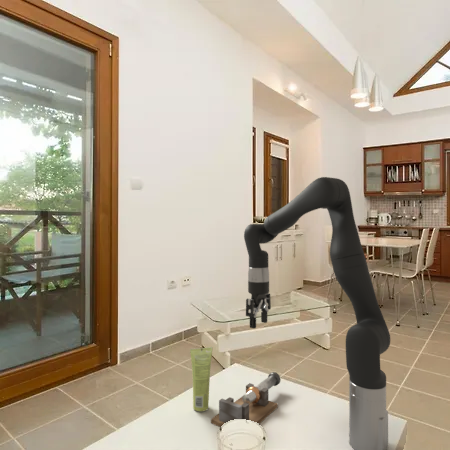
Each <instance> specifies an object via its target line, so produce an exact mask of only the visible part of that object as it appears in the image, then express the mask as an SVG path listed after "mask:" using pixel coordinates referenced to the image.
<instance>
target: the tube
mask: <svg viewBox="0 0 450 450" xmlns="http://www.w3.org/2000/svg"><path fill="white" fill-rule="evenodd" d="M213 348H214V347H212V346H211V347H203V348H202V347H200V348H199V347H198V348H190V349H189V354H190V361H191V371H192V372H191V374H192V400H193V401H192V408H193V410H194V411H196V412H206V411H207V410H209V401H210V395H209V394H210V380H211V379H210V378H211V376H210V375H211V366H212V365H211V364H212V356H213Z"/></svg>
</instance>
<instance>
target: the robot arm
mask: <svg viewBox="0 0 450 450" xmlns="http://www.w3.org/2000/svg"><path fill="white" fill-rule="evenodd" d="M319 209H323V210H324V209H325V210H327V213H328V215H329V219H330V222H331V228H332V231H331V232H332V233H331V239H330V247H329V256H330V261H331V266H332V269H333V273H334V276H335V279H336V281H337V282H338V284H339V286H340V288H341V289H342V290H343V292H344V293H345V295H346V296H347V297H348V300H349V301H350V302H351V305H352V307H353V308H352V309H353V311H354V315H355V319H356V324H353V325H352V326H351V327H349V329H348V330H347V332H346V335H345V360H346V361H345V363H346V369H347V373H348V374H349V384H348V385H349V388H348V389H349V391H348V392H349V395H348V396H349V397H348V399H349V403H348V404H349V409H348V410H349V418H348V419H349V423H348V424H349V426H348V427H349V431H348V432H349V433H348V437H349V441H348V442H349V445H350V446H351V448H352V449H353V450H388V446H389V411H388V410H387V374H386V373H385V372H384V371H383V370H381V355H382V354H384V353H385V352H387V350H388V349H389V347H391V346H390V345H391V334H390V331H389V328H388V326H387V322H386V320H385V317H384V316H383V313H382V311H381V308H380V305H379V302H378V299H377V296H376V292H375V289H374V285H373V282H372V278H371V275H370V274H371V273H370V270H369V266H368V262H367V259H366V255H365V252H364V250H363V249H364V248H363V247H362V243H361V239H360V235H359V231H358V227H357V224H356V222H355V215H354V210H353V205H352V199H351V194H350V189H349V187H348V184H347V183H346V182H345V181H344V180H342V179H340V178H338V177H327V176H321V177H318V178H316V179H314V180H313V181H312V182H311V183H310V184H309V185H308V186H307V187H306V188H304V189H303V190H302V191H301V192H300V193H299V194H298V195H296V196H295V197H294V198H293V199H292V200H290V202H288V203H287V204H285V205H284V206H283V207H281V208H279V209H277V210H276V211H274V212H273V213H271V214H269V215H268V216H267V217H266V218H265V219H264V221H263V223H250V224H249V225H246V227H245V229H244V231H243V233H244V234H243V238H244V243H245V247H246V250H247V254H248V272H247V289H248V290H247V291H248V293H249V294H250V295H251V297H250V298H246V300H245V316H246V317H248V318H249V328H251V329H256V328H257V315H258V313H259V312H260V311H261V312H260V313H261V314H260V315H261V316H260V318H261V319H260V320H261V321H260V322H261V323H263V324H264V323H265V324H266V323H268V313H269V310H271V308H272V307H271V306H272V303H271V293H270V270H269V253H268V252H267V251H266V250H264V249H263V250H262V247H261V244H267V243H270V242H272V241H273V240H274V239H275V238H276V237H278V235H279V234H281V233H283V232H285V231H287V230H288V229H290V228H292V227H293V226H294V225H295V224H296V223H297V222H298V221H299V220H300V218H302V217H303V216H304V215H306V214H308V213H310V212H313V211H316V210H319Z"/></svg>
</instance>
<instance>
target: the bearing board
mask: <svg viewBox="0 0 450 450" xmlns="http://www.w3.org/2000/svg"><path fill="white" fill-rule="evenodd" d="M251 386H255V384H253V383H250V382H249V383H248V384H246V385H245V391H246V390H247V389H248V388H250V387H251ZM242 397H243V395H242V396H241V397H239V398H237V400H235V399H234V398H233V397H230V396H229V397H228V398H226V399H224V398H221V399H219V400H218V414H216V415H214V416H213V417H212V418H211V419H210V423H211V424H212V425H214V426H217V427H220V428H222V427H221V426H222V425H223V424H224V423H226V422H228V421H230V420H234V419H246V420H251V421H254V422H257V423H259V425H260V424H261V423H262V422H263V421H264V420H265V419H266V418H267V417H269V416H270V415H271V414H272V413H273V412H274V411H275V410H276V409H277V408H278V403H277V402H274V401H271V400H269V390H268V389H267V388H263V389H262V390H261V399H260V400H259V401H258V402H257V403H251V404H250V405H249V404H247V403H244V402H243V400H242Z"/></svg>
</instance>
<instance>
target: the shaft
mask: <svg viewBox="0 0 450 450" xmlns="http://www.w3.org/2000/svg"><path fill="white" fill-rule="evenodd" d="M281 380H282V378H281V376H280V375H279V373H277V372H275V371H272V372H270V373H269V374H268V376H267V378H265V379H264V380H262V381H261V382H260V383H259V384H257V385H256V386H255V385H254V386H251V387H250V388H248V389H247V390H246V389H245V393H244V394H243V395H242V396H243V397H242V396H241V397H242V400H243V402H244V403H247V404H249V405H250V404H251V403H257V402H258V401H259V400H260V399H261V390H262V389H263V388H267V389H268V391H269V390H270V389H271V388H273V387H277V386H278V385H279V384H280V383H281Z"/></svg>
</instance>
